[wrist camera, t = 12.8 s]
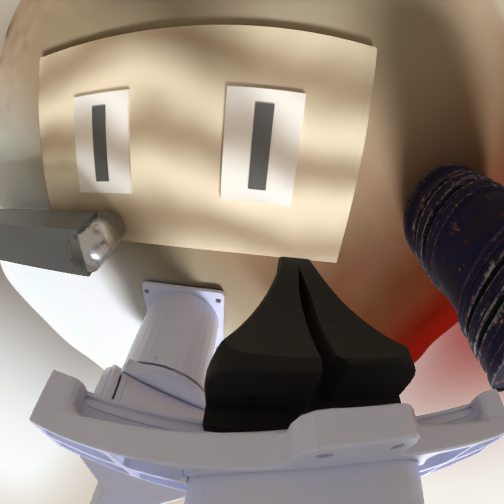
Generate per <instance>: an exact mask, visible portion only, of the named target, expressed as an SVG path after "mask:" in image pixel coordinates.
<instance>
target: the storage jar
mask: <svg viewBox="0 0 504 504" xmlns="http://www.w3.org/2000/svg"><path fill="white" fill-rule="evenodd" d="M404 232H405V237H406V240H407V243H408V245H409V247H410V248H411V250H412V251H413V252H414V254H415V255H416V256H417V258H418V260H419V262H420V264H421V266H422V268H423V269H424V271H425V272H426V273H427V275H428V276H429V277H430V279H431V281H432V283H433V284H434V285H435V287H437V288H438V290H439V291H440V292H442V293H443V294H445V295H446V296H447V298H448V299H449V301H450V302H451V304H452V306H453V307H454V309H455V310H456V312H457V314H458V321H459V324H460V326H461V330H462V333H463V334H464V336H465V337H466V338H467V339H468V342H469V345H470V347H471V349H472V351H473V353H474V355H475V357H476V358H477V360H478V361H480V363H481V366H482V368H483V370H484V371H485V372H486V373H488V374H487V376H488V381H489V383H490V385H491V388H492V389H497V391H498V392H502V391H504V186H502V185H501V184H499V183H497V182H495V181H493V180H492V179H490V178H488V177H487V176H485V175H483V174H481V173H477V172H475V171H473V170H472V169H470V168H468V167H466V166H464V165H461V164H455V163H450V164H445V165H442V166H439V167H437V168H435V169H433V170H432V171H430V172H429V173H428V174H427V175H425V177H424V178H423V179H422V180H421V181H420V182H419V183H418V185H417V186H416V188H415V189H414V191H413V193H412V195H411V196H410V199H409V201H408V204H407V207H406V211H405V217H404Z"/></svg>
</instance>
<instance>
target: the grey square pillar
mask: <svg viewBox="0 0 504 504" xmlns="http://www.w3.org/2000/svg"><path fill="white" fill-rule="evenodd" d="M124 233H125V228H124V224H123V222H122V220H121V218H120V217H119V216H118V215H117V214H116V213H115V212H113V211H111V210H107V209H103V210H100V211H98V212H97V211H71V210H33V209H0V260H4V261H8V262H13V263H18V264H23V265H28V266H33V267H38V268H43V269H48V270H54V271H59V272H65V273H71V274H76V275H82V276H88V277H89V276H90V274H91V273H92V272H95V271H96V270H98V268H99V267H100V266H101V265H102V263H103V262H104V261H105V259H106V258H107V257H108V256H109V254H110V253H111V252H112V251H113V250H114V248H115V247H116V246H117V245H118V243H119V242H120V241H121V240H122V238H123V237H124Z"/></svg>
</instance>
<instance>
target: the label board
mask: <svg viewBox="0 0 504 504" xmlns="http://www.w3.org/2000/svg"><path fill="white" fill-rule="evenodd" d="M376 57H377V48H376V47H372V46H369V45H366V44H362V43H358V42H354V41H350V40H346V39H342V38H338V37H333V36H328V35H323V34H318V33H313V32H307V31H300V30H293V29H285V28H276V27H265V26H251V25H193V26H178V27H167V28H159V29H151V30H144V31H138V32H132V33H126V34H121V35H116V36H111V37H107V38H103V39H99V40H95V41H91V42H87V43H83V44H80V45H77V46H73V47H70V48H67V49H64V50H61V51H58V52H55V53H52V54H50V55H47V56H44V57H42V58H40V68H39V126H40V140H41V151H42V160H43V168H44V175H45V182H46V188H47V194H48V199H49V204H50V209H51V210H71V211H97V212H98V211H100V210H103V209H107V210H111V211H113V212H115V213H116V214H117V215H118V216H119V217H120V218H121V220H122V222H123V224H124V228H125V233H124V237H123V238H122V240H121V241H127V242H137V243H147V244H156V245H166V246H176V247H186V248H196V249H205V250H215V251H225V252H235V253H245V254H255V255H265V256H275V257H282V256H283V257H293V258H303V259H309V260H315V261H325V262H335V263H336V261H337V258H338V254H339V251H340V247H341V243H342V240H343V236H344V232H345V228H346V224H347V220H348V216H349V212H350V208H351V204H352V200H353V195H354V191H355V187H356V182H357V177H358V173H359V168H360V163H361V158H362V153H363V147H364V142H365V136H366V131H367V125H368V119H369V112H370V106H371V99H372V91H373V84H374V75H375V67H376Z"/></svg>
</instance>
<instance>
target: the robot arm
mask: <svg viewBox="0 0 504 504" xmlns="http://www.w3.org/2000/svg"><path fill="white" fill-rule="evenodd" d="M146 289H147V290H149V291H147V290H146ZM142 291H143V296H144V301H145V306H146V311H147V313H146V315H145V318H144V320H143V322H142V324H141V326H140V329H139V331H138V333H137V335H136V338H135V340H134V342H133V345H132V347H131V349H130V352H129V354H128V356H127V359H126V361H125V363H124V366H123V367H122V369H121V368H120V367H118V366H117V365H113V366H112V367H108V368H106V369H105V370H104V372H103V374H102V376H101V378H100V380H99V383H98V385H97V387H96V390H95V391H94V393H91V392H88V391H87V389H86V387H85V386H84V384H83V383H82V382H81V381H79V380H78V379H76V378H74V377H72V376H69V375H66V374H64V373H61V372H59V371H56V370H53V372H52V374H51V376H50V378H49V379H48V381H47V383H46V386H45V388H44V389H43V391H42V393H41V395H40V398H39V400H38V402H37V404H36V406H35V408H34V410H33V413H32V415H31V417H30V421H31V422H32V423H33V424H34V425H35V426H37V427H38V428H39V429H40V430H41V431H42V432H43V433H45V434H46V435H47V436H48V437H50V438H51V439H52V440H53V441H54V442H56V443H57V444H58V445H60V446H62V447H64V448H66V449H68V450H70V451H72V452H74V453H76V454H79V455H80V457H81V458H82V460H83V461H84V463H85V464H86V466H87V467H88V468H89V470H90V471H91V472H92V474H93V475H94V476H95V478H96V479H97V480H98V484H97V486H96V489H95V492H94V494H93V497H92V500H91V503H90V504H164V503H168V502H172V501H175V500H179V499H182V498H185V503H184V504H424V498H423V491H422V485H421V479H420V477H422V476H424V475H427V474H430V473H433V472H435V471H438V470H440V469H443V468H445V467H448V466H450V465H452V464H455V463H457V462H459V461H461V460H464V459H466V458H468V457H471V456H473V455H475V454H477V453H479V452H481V451H482V450H484V449H485V448H486V447H488V446H489V445H491V444H492V443H493V442H495V441H496V440H498V439H499V438H500V437H502V436H503V435H504V406H503V404H502V401H501V399H500V396H499V394H498V391H497V389H492V390H489V391H486V392H483V393H481V394H480V395H478V396H477V397H476V398H475V399H474V400H473V401H472V402H471V403H470V404H467V405H463V406H459V407H456V408H452V409H448V410H444V411H440V412H435V413H431V414H426V415H421V416H415V413H414V409H413V408H412V406H411V405H409V404H401V401H400V397H399V394H401V392H402V391H403V390H404V389H405V388H406V387H407V386H408V384H409V383H410V382H411V380H412V379H413V377H414V375H415V371H416V370H415V366H414V363H413V360H412V357H411V355H410V352H409V350H408V348H407V347H405V346H403V345H401V344H399V343H397V342H396V341H394V340H392V339H390V338H388V337H386V336H385V335H383V334H382V333H380V332H379V331H377V330H376V329H374V328H373V327H371V326H370V325H369V324H367V323H366V322H365V321H363V320H362V319H361V318H360V317H358V316H357V315H356V314H355V313H354V312H353V311H352V310H351V309H349V308H348V307H347V306H346V305H345V304H344V303H343V302H342V301H341V300H340V299H339V297H338V296H337V295H336V294H335V293H334V292H333V291H332V290H331V288H330V287H329V286H328V285H327V283H326V282H325V281H324V279H323V278H322V277H321V275H320V274H319V273H318V271H317V270H316V268H315V267H314V266H313V264H312V263H311V262H310V260H309V259H303V258H293V257H283V256H282V257H280V258H279V261H278V268H277V274H276V276H275V278H274V281H273V283H272V285H271V287H270V289H269V291H268V292H267V294H266V296H265V297H264V299H263V300H262V302H261V303H260V305H259V306H258V307H257V308H256V310H255V311H254V312H253V313H252V315H251V316H250V317H249V318H248V319H247V320H246V321H245V322H244V323H243V324H242V325H241V326H240V327H239V328H238V329H237V330H235V331H234V332H233V333H232V334H230V335H229V336H228V337H226V338H225V339H224V340H223V332H224V296H225V295H224V292H223V291H221V290H214V289H205V288H197V287H188V286H180V285H173V284H165V283H158V282H150V281H144V282H143V283H142ZM217 299H220V300H217Z"/></svg>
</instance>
